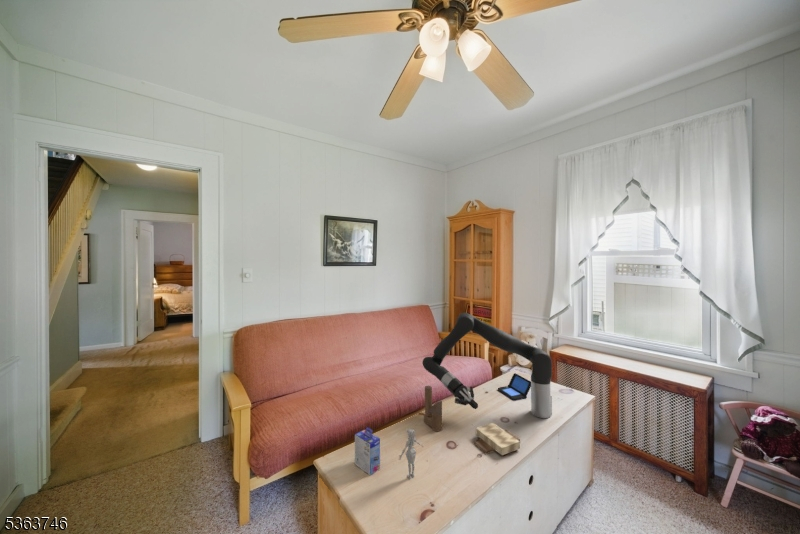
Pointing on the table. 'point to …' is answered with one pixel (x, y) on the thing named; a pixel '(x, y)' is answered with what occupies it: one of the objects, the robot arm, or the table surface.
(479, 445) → the floor panel
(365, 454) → the ink cartridge box
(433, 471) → the table surface
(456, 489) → the table surface
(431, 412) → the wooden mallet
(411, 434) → the human figurine
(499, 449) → the oak plank
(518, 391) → the handheld game console
